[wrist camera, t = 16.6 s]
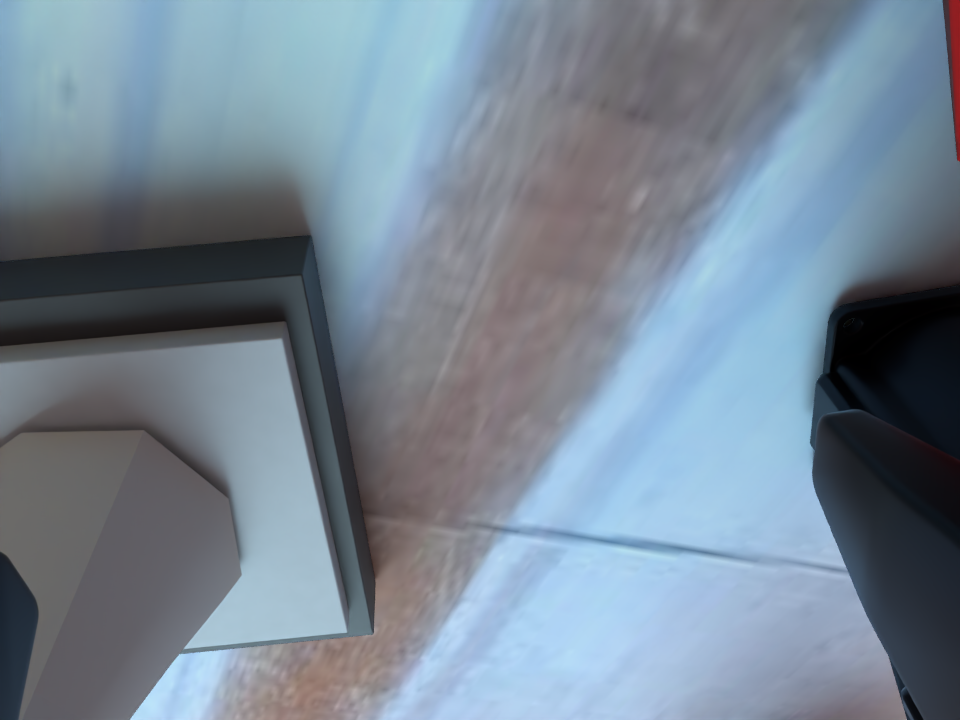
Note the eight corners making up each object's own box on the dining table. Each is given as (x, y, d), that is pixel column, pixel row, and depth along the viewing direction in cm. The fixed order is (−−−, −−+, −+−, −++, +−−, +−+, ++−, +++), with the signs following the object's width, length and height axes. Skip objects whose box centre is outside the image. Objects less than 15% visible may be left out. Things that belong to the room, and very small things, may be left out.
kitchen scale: (311, 234, 21) (298, 290, 19) (375, 582, 28) (373, 656, 26) (-208, 278, 21) (-293, 341, 18) (-9, 620, 28) (-50, 699, 25)
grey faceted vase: (56, 642, 24) (-124, 1072, 16) (-108, 464, 20) (-462, 912, 12) (286, 580, 24) (223, 994, 15) (162, 384, 20) (-14, 798, 11)
